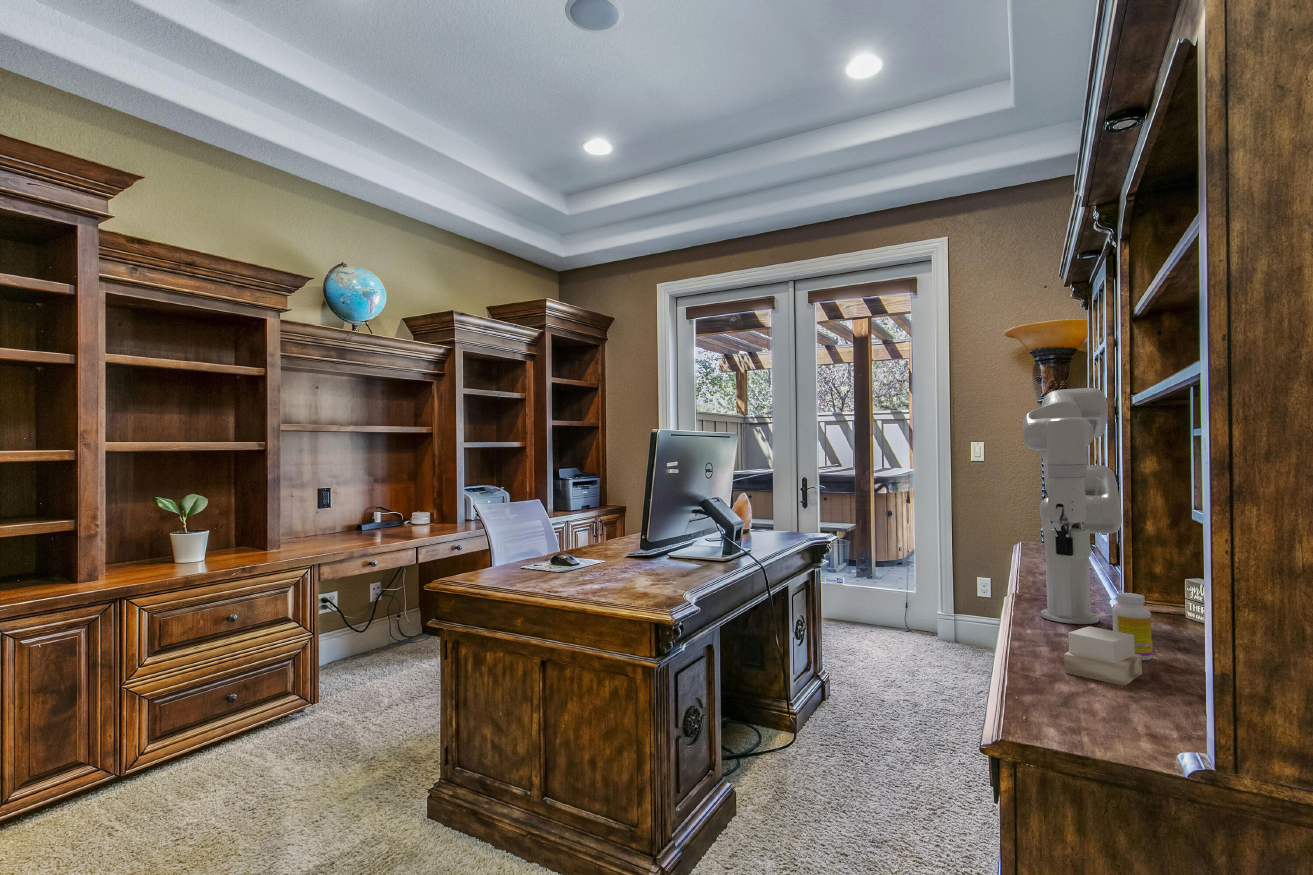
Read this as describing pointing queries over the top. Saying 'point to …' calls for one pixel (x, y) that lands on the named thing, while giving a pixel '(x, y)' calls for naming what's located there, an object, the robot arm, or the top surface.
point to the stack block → (1079, 544)
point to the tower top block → (1101, 644)
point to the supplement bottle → (1134, 622)
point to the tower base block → (1104, 668)
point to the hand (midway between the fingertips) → (1070, 552)
